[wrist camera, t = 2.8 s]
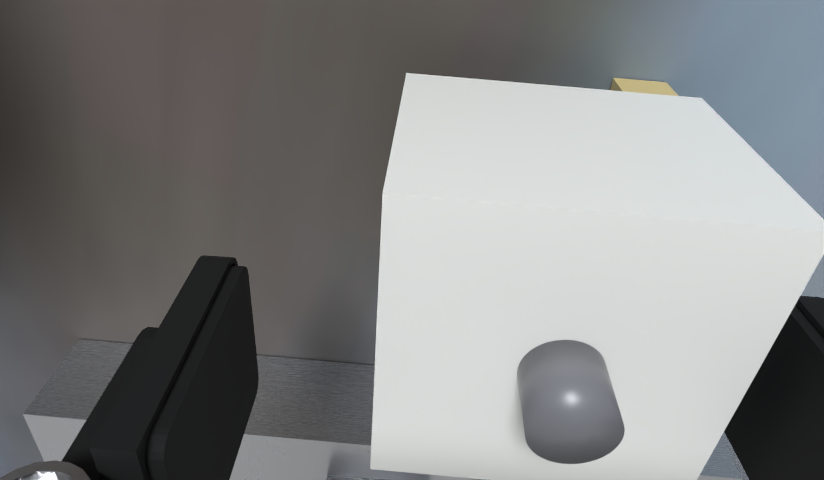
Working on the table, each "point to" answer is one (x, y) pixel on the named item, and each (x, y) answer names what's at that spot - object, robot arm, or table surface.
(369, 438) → the socket
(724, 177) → the plug
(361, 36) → the table surface
